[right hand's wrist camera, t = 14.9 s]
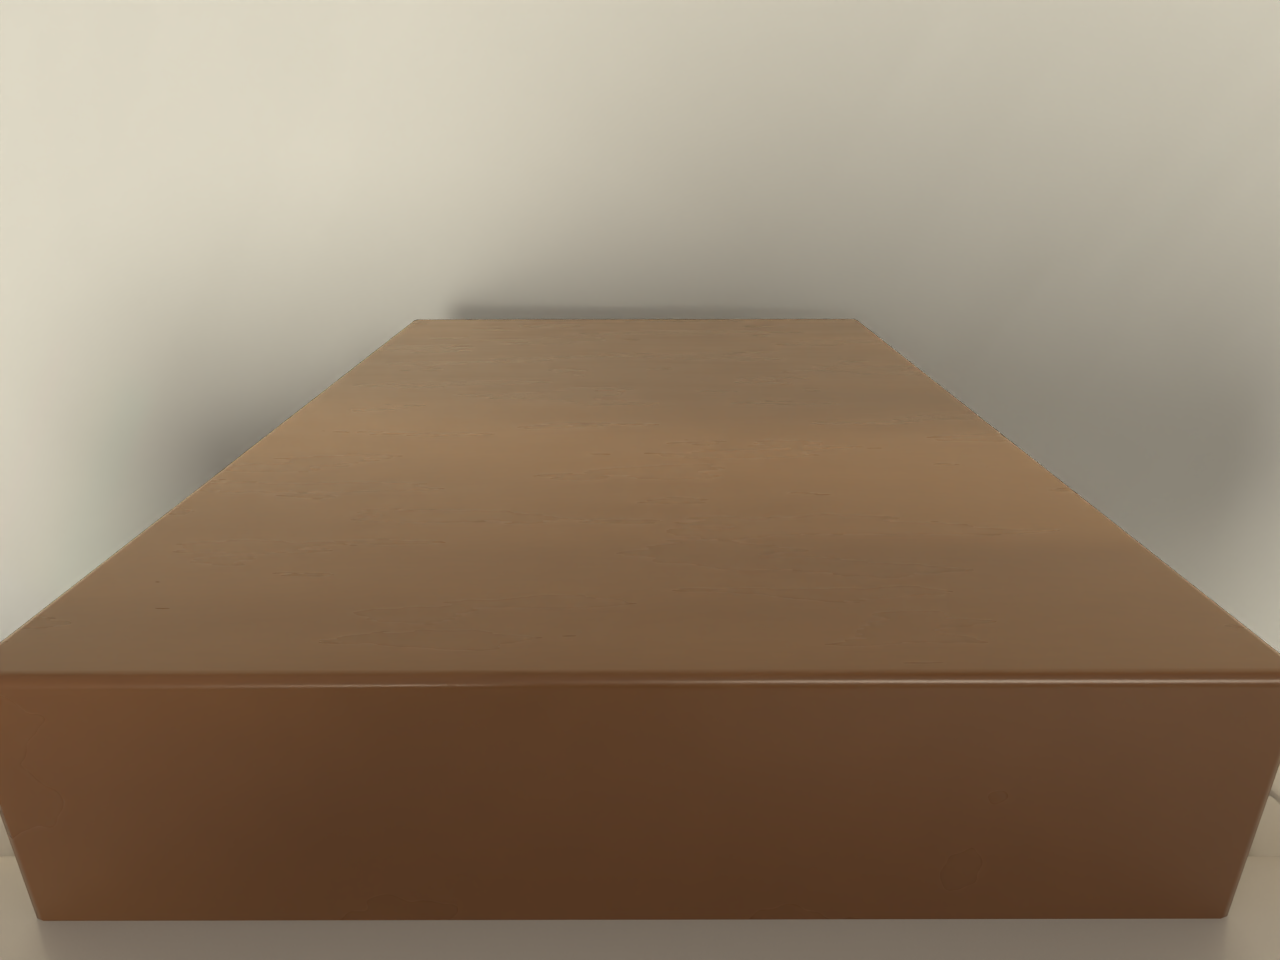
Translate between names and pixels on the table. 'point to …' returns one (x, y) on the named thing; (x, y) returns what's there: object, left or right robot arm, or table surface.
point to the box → (634, 659)
